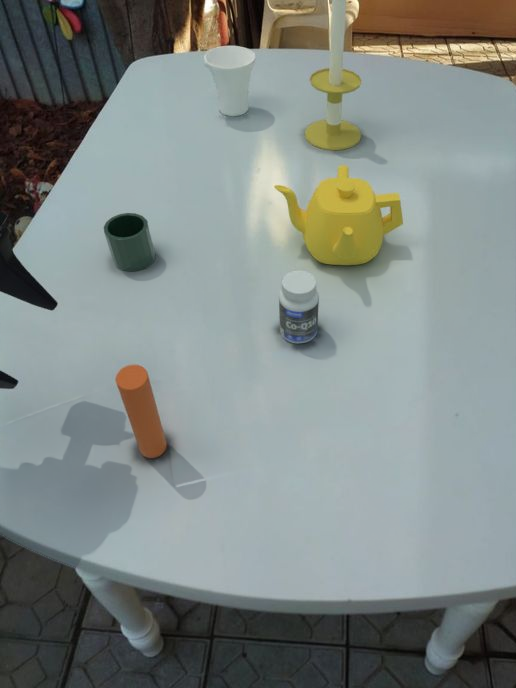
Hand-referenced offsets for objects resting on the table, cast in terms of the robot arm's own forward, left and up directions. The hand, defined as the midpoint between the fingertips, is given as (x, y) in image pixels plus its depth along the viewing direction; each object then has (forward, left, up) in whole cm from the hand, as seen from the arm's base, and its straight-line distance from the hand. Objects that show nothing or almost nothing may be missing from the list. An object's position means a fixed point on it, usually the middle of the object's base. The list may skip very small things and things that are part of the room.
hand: (37, 343), depth 52 cm
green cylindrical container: (+8, +27, -14) cm, 32 cm away
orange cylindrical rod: (+7, -4, -14) cm, 16 cm away
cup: (+30, +63, -14) cm, 72 cm away
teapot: (+36, +21, -14) cm, 45 cm away
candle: (+45, +50, -14) cm, 69 cm away
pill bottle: (+26, +7, -14) cm, 31 cm away
